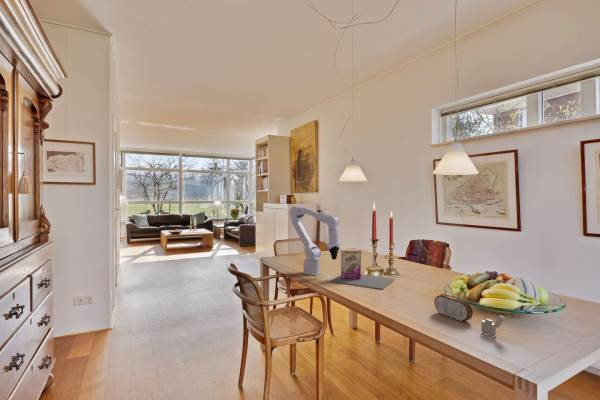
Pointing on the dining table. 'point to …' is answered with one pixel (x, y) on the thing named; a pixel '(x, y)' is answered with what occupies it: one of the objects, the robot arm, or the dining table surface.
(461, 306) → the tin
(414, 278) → the dining table surface
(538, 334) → the dining table surface
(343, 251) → the candy bar box
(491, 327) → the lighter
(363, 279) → the slate placemat
